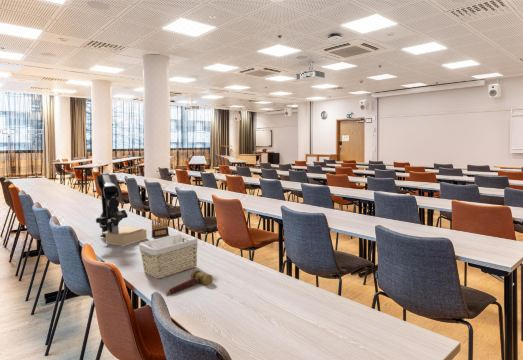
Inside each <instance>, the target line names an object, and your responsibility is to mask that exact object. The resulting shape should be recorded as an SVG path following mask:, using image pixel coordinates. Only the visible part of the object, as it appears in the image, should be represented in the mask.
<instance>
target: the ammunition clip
mask: <svg viewBox="0 0 523 360" xmlns="http://www.w3.org/2000/svg"><path fill="white" fill-rule="evenodd" d="M169 232H170V231H169V224H168V218H167V217H165V218H164V217H162V218H161V217H160V219H159V218H157V219H156V218H154V219H153V218H152V220H151V238H154V239H156V238H159V237H160V238H162V237H167V236H170V234H169Z"/></svg>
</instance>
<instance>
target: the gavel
mask: <svg viewBox="0 0 523 360" xmlns="http://www.w3.org/2000/svg"><path fill="white" fill-rule="evenodd" d="M213 279H214V278H213V276H212V275H211V274H209V273H204V272H201V271H200V270H197V269H194V270H193V271H192V272H191V273H190V279H189V280H186V281H183V282H182V283H180V284H177V285H175V286H173V287H171V288H170V289H168V290H167V292H165V296H168V294H170V295H174V294H176V293H178V292H181V291H183V290H186V289H188V288H189V287H191V286H194V285H196V283H202V284H203V285H206V286H209V285H211V284H212V283H213ZM173 293H174V294H173Z"/></svg>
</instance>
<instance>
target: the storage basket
mask: <svg viewBox="0 0 523 360" xmlns="http://www.w3.org/2000/svg"><path fill="white" fill-rule="evenodd" d="M198 243H199V242H198V238H197V237H194V236H190V235H188V234H183V233H177V234H171V235H167V236H162V237H160V238H159V237H158V238H154V239H151V240H147V241H143V242H141V241H140V242H139V245H138V247H139V248H138V249H139V251H140V256H141V260H142V265H143V272H144V273H145V274H147V275H149V276H151V277H153V278H155V279H163V278H166V277H169V276H172V275H175V274H178V273H181V272H185V271H186V270H189V269H193V268H196V267H197V265H198Z"/></svg>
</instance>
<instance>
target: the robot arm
mask: <svg viewBox="0 0 523 360" xmlns="http://www.w3.org/2000/svg"><path fill="white" fill-rule="evenodd" d="M95 181H96V184H97V187H98V189H99V190H100V196H101V197H100V198H101V209H102V212H101V214H100V215H99V217H97V218H95V223H96V224H98V225H99V228H100V229H101V234H100V237H102V238H103V237H105V238H106V234H102V232H106V231H108V230H109V231H110V232H112V225H116V226H118V227H119V223H120V222H121V221H122V220H123V219H126V218H129V217H128V213H127V211H126V210H125V209H122V210H119V206H120V201H119V200H118V199H117V198H119V197H120V191H119V188H118V187H117V186H116V184H115V183H112V176H111V175H110V173H107V172H105V173H100V175H97V176H96V179H95Z"/></svg>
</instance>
